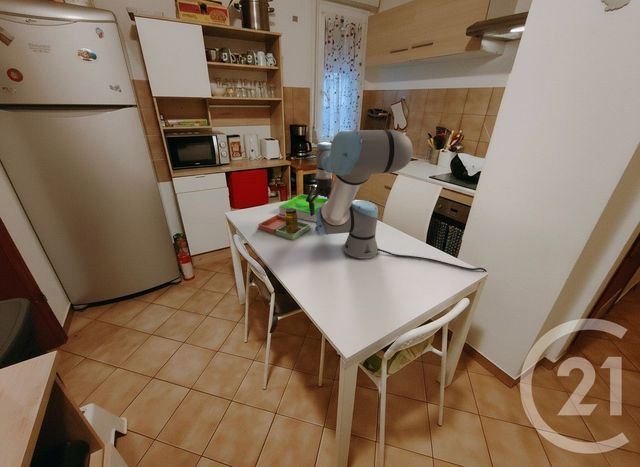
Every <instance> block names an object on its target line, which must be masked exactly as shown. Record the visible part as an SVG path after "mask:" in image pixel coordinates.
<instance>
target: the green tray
mask: <svg viewBox="0 0 640 467" xmlns="http://www.w3.org/2000/svg"><path fill="white" fill-rule="evenodd" d="M297 222H298V227H299V228H303V229H301V230H300V231H298V232H296V233H295V234H288V233H285V232H284V231H285V230H286V224H285V225H283V226H282V227H280V228H278V229H276V230H275V231H276V233H275V235H277V236H280V237H282V238H286V239H288V240H292V241H294V240H295V239H297V238H299V237H300V236H302V235H303V234H304V233H306V232H308V231H309V230H310V229H311V224H310V223H306V222H304V221H300V220H297Z"/></svg>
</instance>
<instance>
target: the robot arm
mask: <svg viewBox="0 0 640 467" xmlns="http://www.w3.org/2000/svg"><path fill="white" fill-rule="evenodd" d="M315 154H316V156H315V158H316V160H315V161H316V168H315V169H316V170H315V177H316V178H315V183H314V184H311V185H310V190H309V192H308V194H307V195H308V196H307V198H306V202H309V209H310V216H313V215H314V203H313V202H314V200H315V199H316V198H317V197H322V198H326V199H328V201H327V202H325V203H324V204H323V206H322V207H318V208H316V217H317V224H318V230H319V233H320V234H319V233H318V234H319V235H321V236H322V235H327V236H328V235H335V234H337V235H338V234H348V236H347V238H346V240H345V242H344V245H343V251H344V253H345V254H346V255H347V256H349V257H351V258H353V259H358V260H368V259H372V258H374V257H375V256H377V254H378V252H381V253H385V254H388V255H390V256H393V257H400V258H411V259H419V260H424V261H430V262H435V263H439V264H443V265H446V266H451V267H455V268H458V269H463V270H468V271H479V270H480V271H483V272H485V273H487V272H488V271H487V270H486V268H484V267H474V268H473V267H466V266H462V265H458V264H454V263H450V262H446V261H442V260H438V259H434V258H429V257H424V256H415V255H405V254H398V253H397V254H396V253H393V252H390V251H387V250H384V249H380V248H378V247H379V246H378V243H377V240H376V239H377V238H376V232H377V224H378V219H379V218H378V217H379V208H378V206H377V205H376V204H375V203H373V202H371V201H368V200H363V199H355V197H356V195H357V193H358V191H359V189H360V187H361V185H364V184H366V183H367V182H368V181H369V179H370V177H371V176H372V174H374V175H375V174H390V173H395V172H398V171H400V170H402V169H404V168H405V167H407V165H409V163H410V162H411V160H412V159H413V154H414V146H413V143H412V141H411V139H410V138H409V136H407V135H406V134H405V133H403V132H401V131H399V130H395V129H365V130H358V129H348V130H341V131H338V132H337V133H336V134H335V135H334V137H333V139H332V141H331V142H326V141H325V142H318V143H316V149H315ZM333 175H335V176H334V180H333V178H332V177H333ZM315 191H316V192H315ZM314 193H315V194H314ZM312 196H313V198H312V199H311V197H312ZM310 199H311V200H310Z"/></svg>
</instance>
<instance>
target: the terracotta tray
mask: <svg viewBox="0 0 640 467" xmlns="http://www.w3.org/2000/svg"><path fill="white" fill-rule="evenodd" d="M285 224H286V219H285V216H284V215H281V214H275V215H274V216H272V217H270V218H267V219H266V220H264V221H262V222H260V223H257V228H258V229H259V230H262V231H265V232H268V233H271V234H274V235H276V231H275V230H276V229H278V228H280V227H282V226H283V225H285Z"/></svg>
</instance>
